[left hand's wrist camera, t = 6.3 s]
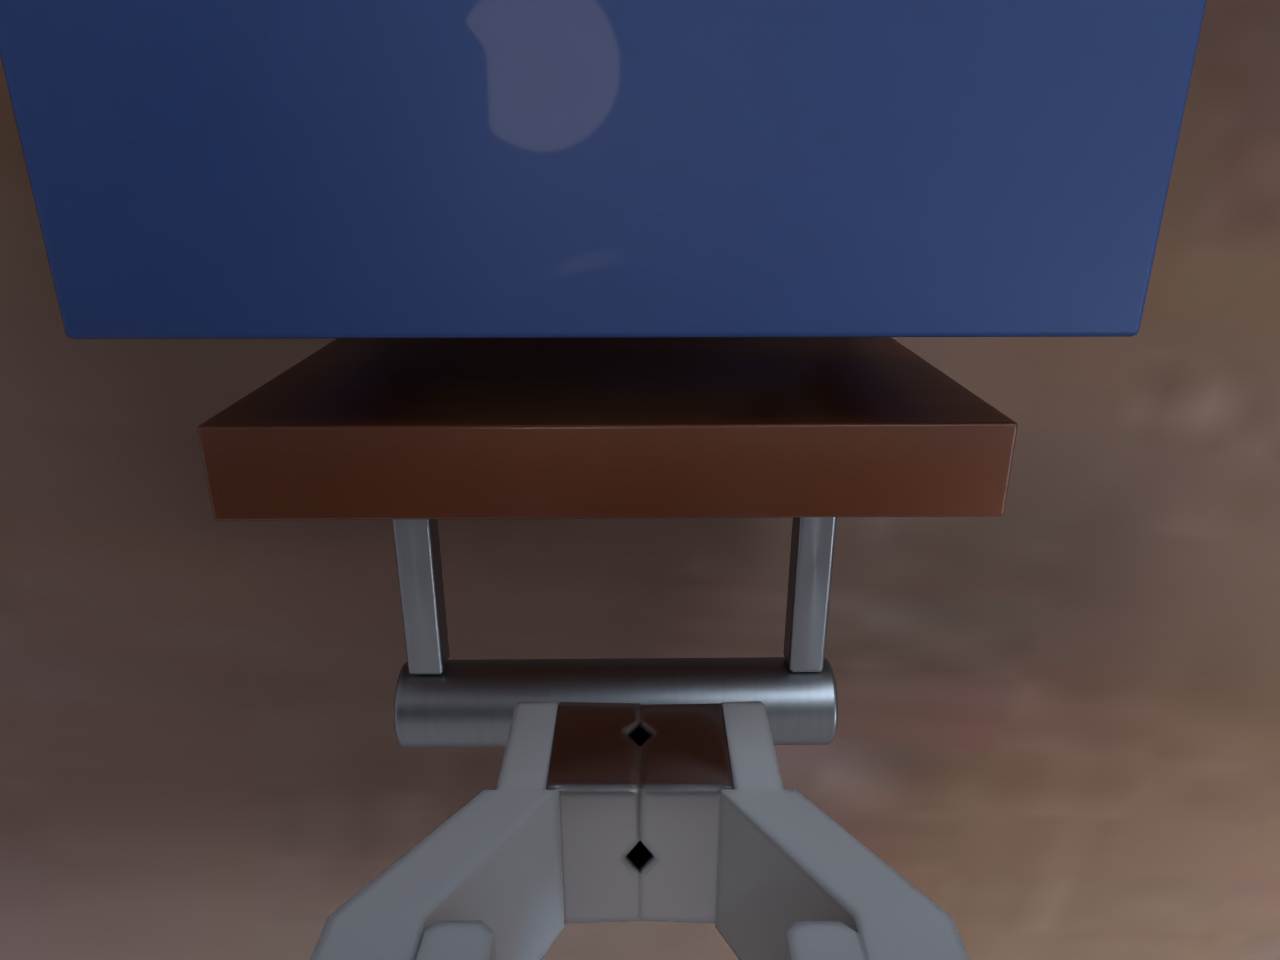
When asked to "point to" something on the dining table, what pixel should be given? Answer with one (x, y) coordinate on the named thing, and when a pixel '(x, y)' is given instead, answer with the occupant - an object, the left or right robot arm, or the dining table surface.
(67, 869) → the dining table surface
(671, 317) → the navy blue box
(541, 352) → the drawer
